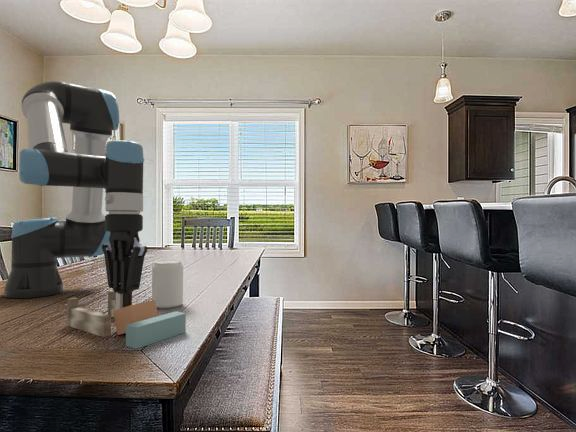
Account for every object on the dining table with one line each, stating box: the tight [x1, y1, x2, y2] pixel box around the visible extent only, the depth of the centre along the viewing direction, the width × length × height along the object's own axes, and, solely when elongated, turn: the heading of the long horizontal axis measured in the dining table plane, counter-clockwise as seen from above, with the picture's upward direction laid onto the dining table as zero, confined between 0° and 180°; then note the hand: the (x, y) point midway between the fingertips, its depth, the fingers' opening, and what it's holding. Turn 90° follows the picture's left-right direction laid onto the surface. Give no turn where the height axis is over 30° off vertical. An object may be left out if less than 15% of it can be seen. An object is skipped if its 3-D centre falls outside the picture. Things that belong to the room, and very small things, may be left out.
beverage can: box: [151, 259, 184, 309], centre depth 101 cm, size 8×8×12 cm
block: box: [113, 299, 159, 336], centre depth 78 cm, size 6×6×5 cm
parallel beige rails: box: [66, 290, 138, 338], centre depth 83 cm, size 14×11×6 cm
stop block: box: [125, 310, 187, 350], centre depth 74 cm, size 3×12×4 cm, turn 148°
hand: (123, 321), depth 80 cm, fingers closed
